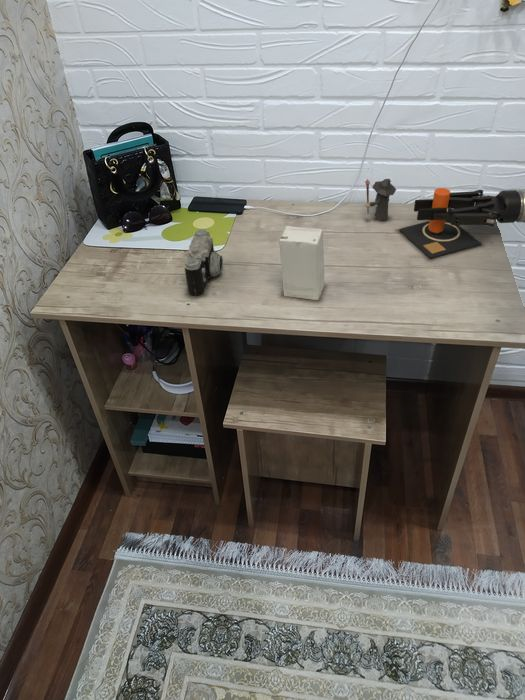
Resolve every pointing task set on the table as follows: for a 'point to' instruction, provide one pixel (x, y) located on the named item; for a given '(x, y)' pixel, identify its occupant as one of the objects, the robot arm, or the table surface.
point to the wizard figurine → (380, 197)
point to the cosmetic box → (302, 262)
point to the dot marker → (439, 201)
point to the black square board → (439, 239)
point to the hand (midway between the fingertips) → (416, 210)
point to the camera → (201, 263)
